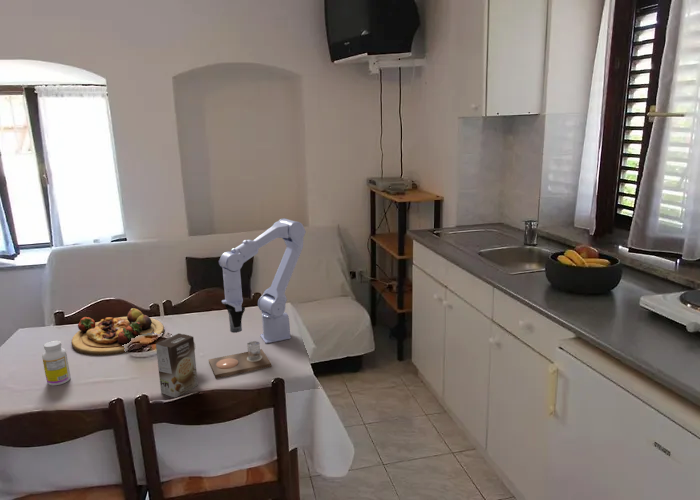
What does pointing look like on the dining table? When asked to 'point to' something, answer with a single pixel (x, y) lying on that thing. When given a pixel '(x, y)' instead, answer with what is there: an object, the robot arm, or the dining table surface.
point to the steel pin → (232, 328)
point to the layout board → (240, 361)
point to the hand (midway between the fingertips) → (235, 324)
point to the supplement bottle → (55, 363)
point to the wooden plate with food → (112, 333)
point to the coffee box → (176, 364)
